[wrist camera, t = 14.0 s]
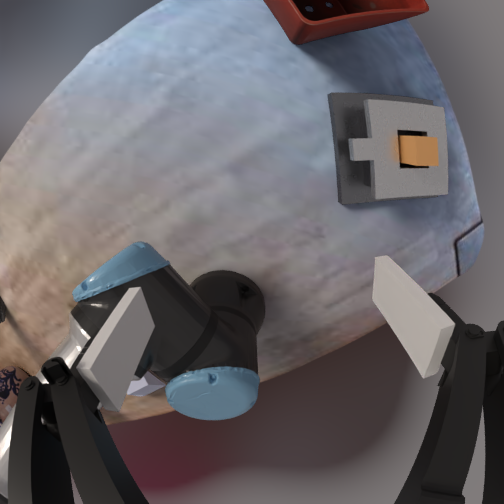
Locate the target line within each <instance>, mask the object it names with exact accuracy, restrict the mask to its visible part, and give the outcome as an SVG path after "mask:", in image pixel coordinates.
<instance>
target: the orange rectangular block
mask: <svg viewBox="0 0 504 504" xmlns="http://www.w3.org/2000/svg"><path fill="white" fill-rule="evenodd" d="M398 146H399V162H401V163H406V164H411V165H415V166H439V161H438V141H437V137H425V136H398Z"/></svg>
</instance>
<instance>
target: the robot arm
mask: <svg viewBox="0 0 504 504" xmlns="http://www.w3.org/2000/svg"><path fill="white" fill-rule="evenodd" d="M72 295H73V297H74V300H75V301H76V302H77V301H78V304H77V305H76V306H75V307H74V308H73V310H72V311H71V312H70V313H69V325H70V330H69V334H68V335H67V336H66V337H65V338H64V340H63V341H62V342H61V343H60V345H59V346H58V347H57V348H56V350H55V351H54V352H53V353H52V355H51V356H50V357H49V358H48V360H47V361H46V362H45V363H44V364H43V366H42V368H41V369H40V370H39V372H38V373H37V374H36V376H30V377H28V378H26V379H25V380H24V381H23V382H22V383H21V385H20V388H19V393H18V397H17V402H16V404H15V405H14V407H13V408H12V410H11V411H10V413H9V415H8V416H7V418H6V419H5V421H4V422H3V424H2V426H1V427H0V504H75V503H74V497H73V490H72V483H71V475H70V470H71V473H72V476H73V479H74V482H75V484H76V487H77V489H78V492H79V494H80V497H81V499H82V501H83V504H149V503H148V501H147V500H146V499H145V497H144V495H143V494H142V492H141V491H140V489H139V487H138V486H137V484H136V482H135V481H134V479H133V477H132V476H131V474H130V472H129V470H128V468H127V467H126V465H125V463H124V461H123V459H122V457H121V456H120V453H119V451H118V450H117V448H116V445H115V444H114V442H113V439H112V437H111V435H110V433H109V431H108V429H107V426H106V424H105V421H104V419H103V417H102V414H101V412H100V411H99V410H100V409H101V407H102V406H103V407H104V408H105V409H106V410H110V411H117V412H119V411H120V409H121V406H122V404H123V401H124V398H125V396H126V393H127V391H128V388H129V386H130V383H131V381H139V380H141V379H142V377H143V376H144V375H145V374H146V372H147V371H148V370H149V369H150V370H151V371H153V372H154V373H155V374H157V375H158V376H159V377H160V378H162V379H163V380H164V381H166V382H167V385H166V388H165V393H166V397H167V401H168V403H169V404H170V405H171V406H172V407H173V408H174V409H175V410H177V411H178V412H180V413H182V414H184V415H186V416H189V417H193V418H197V419H203V420H223V419H229V418H233V417H236V416H239V415H241V414H243V413H245V412H246V411H248V410H249V409H250V408H251V407H252V406H253V405H254V404H255V402H256V399H257V396H258V384H259V382H260V379H259V376H258V362H257V340H256V336H257V334H258V332H259V330H260V328H261V325H262V323H263V321H264V316H265V304H264V298H263V295H262V293H261V291H260V289H259V288H258V287H257V285H256V284H255V283H254V282H253V281H251V280H250V279H249V278H247V277H245V276H244V275H241V274H239V273H236V272H232V271H224V270H220V271H212V272H208V273H206V274H203V275H201V276H200V277H198V278H197V279H195V280H194V281H193V282H192V283H191V284H190V286H189V285H188V284H187V283H186V282H185V281H184V279H183V278H182V277H181V276H180V275H179V274H178V273H177V272H176V271H175V270H174V269H173V268H172V266H171V265H170V262H169V261H166V260H165V259H164V258H163V257H162V256H161V255H160V254H159V253H158V252H157V251H156V250H155V249H154V248H153V247H152V246H151V245H150V244H148V243H146V242H135V243H133V244H131V245H130V246H128V247H127V248H125V249H124V250H122V251H121V252H119V253H118V254H117V255H115V256H114V257H113V258H111V259H110V260H109V261H107V262H106V263H105V264H103V265H102V266H101V267H100V268H98V269H97V270H96V271H95V272H93V273H92V274H91V275H90V276H89V277H87V279H85V280H84V281H83V282H82V283H81V284H80V285H78V286H77V287H76V288H75V289H74V290H73V292H72ZM372 300H373V302H374V303H375V304H376V306H377V307H378V309H379V310H380V312H381V313H382V315H383V316H384V317H385V319H386V320H387V322H388V323H389V325H390V326H391V328H392V329H393V331H394V332H395V334H396V336H397V337H398V339H399V340H400V342H401V343H402V345H403V346H404V348H405V349H406V351H407V353H408V354H409V356H410V357H411V359H412V361H413V362H414V364H415V366H416V367H417V369H418V370H419V372H420V374H421V376H422V377H423V378H426V377H429V376H431V375H434V374H436V373H437V372H438V369H439V367H440V365H441V364H442V366H443V367H444V368H445V370H444V372H443V375H442V377H441V379H440V381H439V383H438V386H440V388H439V391H438V395H437V399H436V403H435V406H434V410H433V413H432V417H431V419H430V423H429V426H428V429H427V432H426V434H425V437H424V440H423V442H422V445H421V448H420V450H419V453H418V455H417V458H416V460H415V463H414V465H413V467H412V469H411V471H410V474H409V476H408V478H407V480H406V482H405V484H404V486H403V488H402V490H401V492H400V494H399V496H398V498H397V499H396V501H395V503H394V504H465V497H464V496H463V495H462V490H463V487H464V484H465V481H466V477H467V474H468V471H469V467H470V464H471V461H472V457H473V453H474V448H475V444H476V440H477V435H478V430H479V425H480V418H481V412H482V405H483V412H484V424H485V453H486V455H485V456H486V457H485V482H484V492H483V501H482V504H504V321H501V322H500V323H499V324H498V326H497V329H496V331H490V332H485V331H484V330H483V329H482V328H481V327H479V326H478V325H475V324H465V323H464V322H463V321H462V320H461V318H460V317H459V316H458V315H457V314H456V313H455V312H454V311H453V310H452V309H450V307H449V306H448V305H447V304H445V302H444V301H443V300H442V299H441V298H440V297H439V296H436V295H435V294H433V293H428V294H427V293H426V292H425V291H424V290H423V289H422V288H421V287H420V286H419V285H418V284H417V283H416V282H415V281H414V280H413V279H412V278H411V277H410V276H409V275H407V274H406V273H405V272H404V271H403V270H402V269H401V268H400V267H399V266H398V265H397V264H396V263H395V262H394V261H393V260H392V259H391V258H389V257H388V256H380V257H375V272H374V285H373V296H372Z"/></svg>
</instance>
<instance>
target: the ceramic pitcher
mask: <svg viewBox="0 0 504 504" xmlns="http://www.w3.org/2000/svg"><path fill="white" fill-rule="evenodd" d="M28 377H29V376H28V374H27V373H26V372H24V371H23V370H22V369H20V368H19V367H15V366H8V367H5V368H4V369H2V370H1V371H0V427H1V426H2V424H3V422H4V421H5V419H6V418H7V416H8V415H9V413H10V411H11V410H12V408H13V407H14V405H15V404H16V402H17V397H18V393H19V388H20V385H21V383H22V382H23V381H24V380H25V379H26V378H28Z"/></svg>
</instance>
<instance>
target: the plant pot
mask: <svg viewBox="0 0 504 504" xmlns="http://www.w3.org/2000/svg"><path fill="white" fill-rule="evenodd" d="M264 2H265V3H266V5H267V6H268V7H269V9H270V10H271V12H272V13H273V15H274V16H275V18H276V19H277V21H278V22H279V24H280V25H281V27H282V28H283V30H284V32H285V33H286V35H287V36H288V38H289V40H290V41H291V42H292V43H293V44H296V45H300V44H303V43H307V42H311V41H314V40H318V39H322V38H326V37H330V36H334V35H338V34H343V33H348V32H353V31H359V30H364V29H368V28H373V27H377V26H381V25H385V24H389V23H392V22H396V21H400V20H403V19H407V18H410V17H413V16H417V15H419V14H422V13H425V12H427V11H429V6H428V4H427V3H426V1H425V0H264ZM326 2H330V3H332V4H333V7H332V8H329V7H327V6H326V4H325V3H326ZM307 5H310V6H312V7H313V8H314V11H313V12H308V11H306V9H305V6H307Z"/></svg>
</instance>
